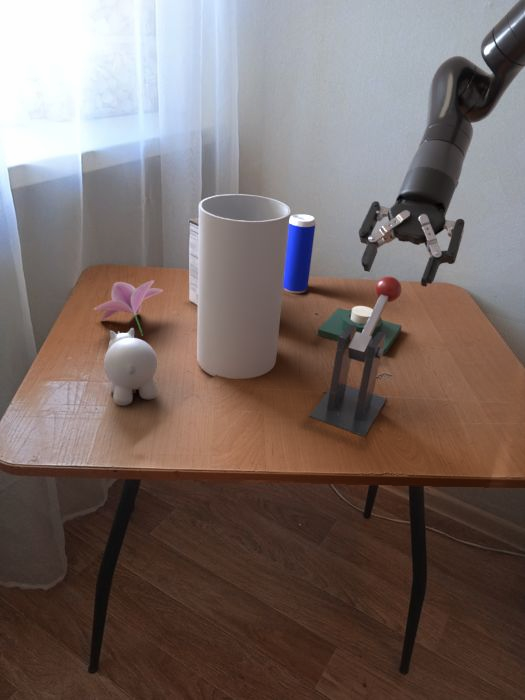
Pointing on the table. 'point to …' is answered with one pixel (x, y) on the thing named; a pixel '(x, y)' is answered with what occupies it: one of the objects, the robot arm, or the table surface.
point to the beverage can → (299, 253)
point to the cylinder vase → (240, 283)
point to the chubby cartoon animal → (130, 367)
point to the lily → (127, 299)
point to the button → (360, 314)
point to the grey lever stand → (352, 388)
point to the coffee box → (193, 259)
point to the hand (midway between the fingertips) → (394, 276)
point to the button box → (342, 321)
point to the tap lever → (374, 317)
